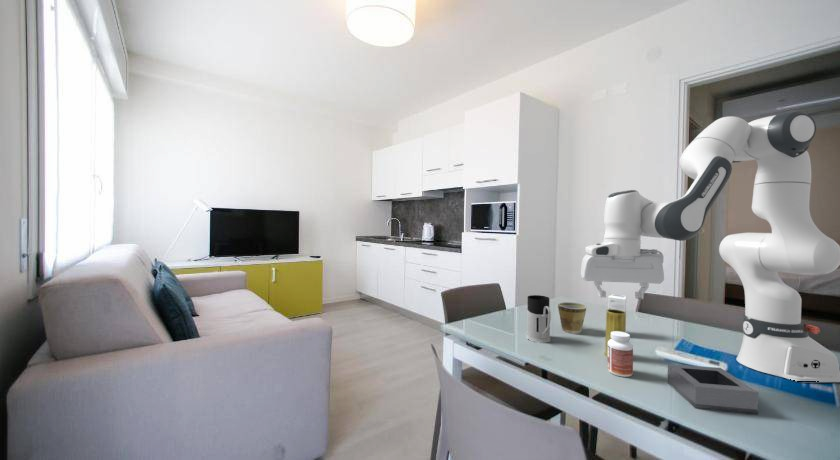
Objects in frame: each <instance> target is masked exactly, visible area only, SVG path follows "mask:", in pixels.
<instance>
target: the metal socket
mask: <svg viewBox="0 0 840 460" xmlns="http://www.w3.org/2000/svg"><path fill="white" fill-rule="evenodd" d="M667 384H668V385H669V386H671V388H672V389H674V390H675V392H677V393H678V394H679V395H680V396H682V398H684V399H685V401H687V402H688V403H689V404H690V405H691V406H693V408H694V409H701V410H712V411H721V412H722V411H723V412H731V413H740V414H741V413H742V414H752V415H758V414H759V391H757V390H756V389H754V388H753V387H752V386H749V385H748V384H746V383H745V382H743V381H742V380H741V379H739V378H738V377H736V376H734V375H733V374H731V373H729V371H727V370H724V369H723V368H722V367H716V366H715V367H712V366H711V367H710V366H699V365H689V364H688V365H684V364H675V363H674V364H671V363H667Z"/></svg>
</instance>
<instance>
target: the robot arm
mask: <svg viewBox="0 0 840 460" xmlns="http://www.w3.org/2000/svg"><path fill="white" fill-rule="evenodd" d="M816 125H817V124H816V122H815V120H814V119H813V117H812V116H811V115H810V114H808V113H807V112H805V111H802V110H792V111H786V112H780V113H778V114H776V115H770V116H765V117H760V118H757V119H755V120H752V121H750V122H749V121H746V120H745V119H744V118H741V117H738V116H735V115H734V116H732V115H731V116H723V117H720V118H718V119H716V120H713V122H712V123H711V124H709V125H707V126H706V127H705V128H704V129H702V131H700V133H699V134H697V136H696V137H695V138H694V139H693V140H692V141H691V142H690V143H689V144H688V145H687V146H686V148H685V149H684V150H683V152H682V153H681V155H680V157H679V166H680V168H681V170H682V172H683V173H684V174H685V175H686V176H687V177H689V178H691V179H692V180H693V182H692V184H690V187H689V188H688V189H687V190H686V192H685V194H684V195H683V196H681V197H680V198H677V199H674V200H671V201H661V202H655V201H652V200H650V199H648V198H646V197H644V196H643V195H642V194H640V192H639V191H638V190H636V189H631V190H629V189H628V190H623V191H622V190H621V191H616V192H613V193H610V194H608V196H607V198H606V200H605V202H604V203H605V204H604V209H603V210H604V211H603V224H604V230H605V232H604V235H603V241H602V242H597V243H594V244H590V245H587V246H586V247H585V249H584V250H585V253H586V254H585V255H584V256H583V257H582V260H581V265H580V267H581V268H580V277H581V279H583V280H584V281H586V282H593V284H594V286H595V288H596V289H597V294H598V297H599V298H607V291H606V290H605V289H602V287H601V286H602V285H603V283H605V282H607V283H633V284H639V287H640V288H639V290H638V291H634V298H635V299H636V300H644V295H645V293H646V291H647V290H648V289H649V284H655V285H656V284H657V285H658V284H660V285H661V284H662V283H663V282H664V281H665V271H664V266H663V263H664V254H663V253H662V252H661V251H660V250H658V249H653V248H652V249H649V248H641V243H642V242H641V241H642V240H641V237H650V238H656V239H657V238H659V239H668V240H674V241H679V242H680V241H681V242H682V241H688V240H691V239H692V238H694V237H696V236H697V235H698V234H699V232H700V231H701V230H702V228H703V226H704V224H705V221H706V217H707V216H708V213H709V211H710V209H711V208H712V206H713V204H715V201H716V199H717V198H718V197H719V195H720V193H721V192H722V191H723V189H724V187H725V186H726V184H727V183H728V180H729V179H730V177H731V174H732V171H733V166H732V163H741V162H746V161H753V160H755V162H756V165H757V170H756V173H755V176H754V177H755V178H754V182H753V183H754V184H753V192H752V201H751V211H752V212H753V214H754V215H755V216H757V217H758V218H760V219H763V220H765V221H767V222H768V223H769V225H770V228H771V232H741V233H733V234H729V235H726V236H725V237H724V238H723V239H722V240H721V241H720V244H719V246H718V253H719V255H720V257H721V259H722V260H723V261H724V262H725V263H727V264H728V265H729V266H730V267H731V268H732V269H733V270H734V271H735V273H736V274H737V275H738V277H739V279H740V281H741V283H742V287H743V290H744V304H745V305H744V306H745V307H744V312H745V313H744V314H742V333H743V337H742V341H741V345H740V350H739V353H738V355H737V356H736V359H735V360H736V361H737V362H738V363H739V364H740V365H743V366H744V367H747V368H749V369H752V370H755V371H758V372H761V373H763V374H764V373H766V374H768V375H773V376H776V377H780V378H785V379H787V380H790V379H791V380H790V381H793V380H795V381H794V382H797V381H816V382H815V383H840V364H839V361H838V358H837V356H836V354H834V352H833V351H831V350H829V349H828V348H826V346H823V345H822V344H821V343H819V342H817V341H816V340H814V339H813V338H812V337H810V335H809V333H812V334H814V335H818V334H819V333H820V332H821V330H820V328H819V327H818V326H816V325H812V324H805V323H803V322H802V302H803V301H802V297H801V295H800V293H799V292H798V291H797V290H796V289H795V288H793V287H791V286H789V285H788V284H787V283H785V282H784V281H783V280H782V279H781V277H780V276H779V273H787V274H793V275H794V274H795V275H804V276H805V275H807V276H808V275H827V274H830V273H832V272H834V271H836V270H837V268H839V266H840V244H838V243H837V242H836V241H835V239H833V238H831V237H829V236H827V235H826V234H825V233H823V232H822V231H821V230H820V229H819V228H818V227H817V225H816V224H815V223H814V221H813V218H812V216H811V215H812V214H811V211H810V202H811V201H810V200H811V199H810V198H811V187H812V186H811V185H812V163H811V158H810V154H809V151H808V149H809V147H810V145H811V144H812V142H813V140H814V138H815V135H816V133H817V126H816ZM808 332H809V333H808ZM817 381H819V382H817Z"/></svg>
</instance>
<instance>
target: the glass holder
mask: <svg viewBox="0 0 840 460" xmlns="http://www.w3.org/2000/svg"><path fill="white" fill-rule="evenodd" d="M551 313H552V312H551V309H550V297H549V296H546V295H540V294H538V295H537V294H535V295H534V294H533V295H531V294H530V295H528V296H527V309H526V335H525V339H526V338H527V339H529V340H532V341H535V342H534V343H537V342H540V343H539V344H546V342H547V343H549V342H551V341H552V338H551V336H550V334H551V331H550V329H551V326H550V325H551V318H552V317H551V316H552V315H551ZM527 339H526V340H527ZM529 340H528V341H529ZM532 341H531V342H532Z"/></svg>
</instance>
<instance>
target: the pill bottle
mask: <svg viewBox="0 0 840 460" xmlns="http://www.w3.org/2000/svg"><path fill="white" fill-rule="evenodd" d="M611 338H612V339H610V340H609V341H608V356H606V357H607V370H608V372H609V373H611V374H612V375H615V376H617V377H622V378H628V377H629V378H630V377H632V375H634V346H633V344H632V342H630V341H631V335H630V334H629V333H627V332H626V333H625V332H620V331H612V332H611Z"/></svg>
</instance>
